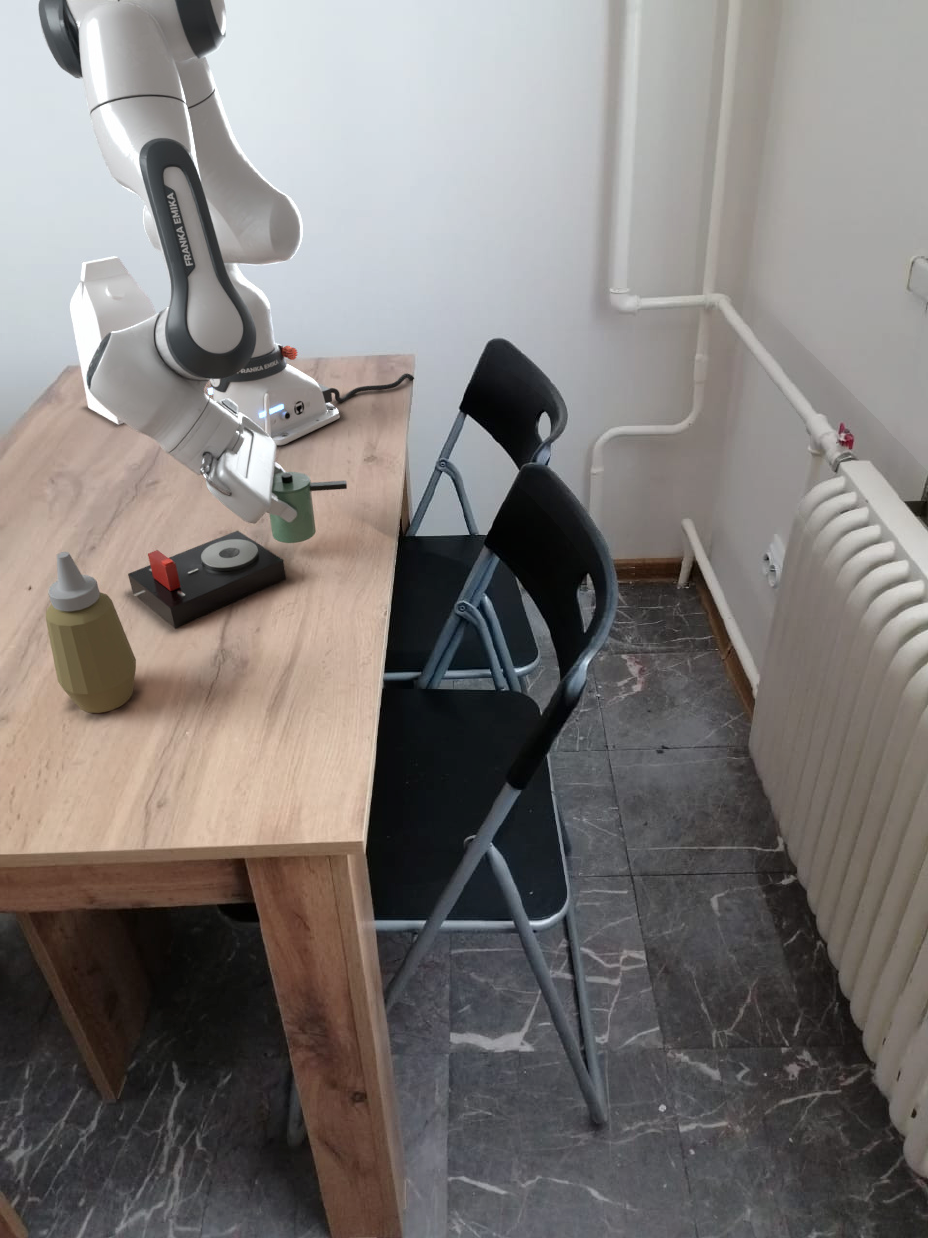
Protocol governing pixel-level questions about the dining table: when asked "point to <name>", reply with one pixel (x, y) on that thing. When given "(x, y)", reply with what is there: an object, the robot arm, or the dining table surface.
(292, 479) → the saucepan
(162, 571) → the knob
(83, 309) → the milk
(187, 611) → the hob
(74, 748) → the dining table surface
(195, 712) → the dining table surface
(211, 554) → the burner
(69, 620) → the squeeze bottle
